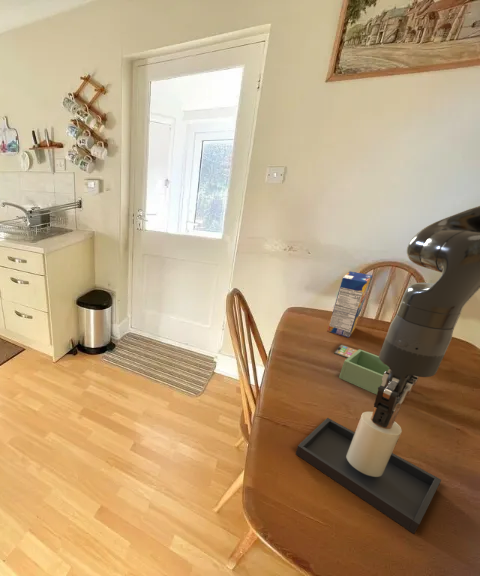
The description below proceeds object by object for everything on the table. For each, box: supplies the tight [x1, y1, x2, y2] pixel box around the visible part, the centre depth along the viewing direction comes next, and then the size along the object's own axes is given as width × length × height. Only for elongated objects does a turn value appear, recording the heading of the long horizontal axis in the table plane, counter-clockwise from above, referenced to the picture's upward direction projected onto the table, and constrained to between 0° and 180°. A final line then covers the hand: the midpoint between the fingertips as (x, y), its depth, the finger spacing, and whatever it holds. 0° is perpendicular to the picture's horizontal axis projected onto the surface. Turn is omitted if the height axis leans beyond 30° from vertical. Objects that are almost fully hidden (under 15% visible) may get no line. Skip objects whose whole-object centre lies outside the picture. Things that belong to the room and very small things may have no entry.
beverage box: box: [326, 270, 374, 339], centre depth 118 cm, size 7×11×22 cm, turn 132°
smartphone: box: [333, 344, 359, 359], centre depth 102 cm, size 8×15×1 cm, turn 41°
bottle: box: [346, 404, 403, 477], centre depth 62 cm, size 6×6×16 cm
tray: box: [295, 417, 442, 535], centre depth 65 cm, size 20×15×3 cm
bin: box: [338, 348, 389, 396], centre depth 91 cm, size 11×11×7 cm
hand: (383, 419), depth 60 cm, fingers closed on bottle, 3 cm apart
